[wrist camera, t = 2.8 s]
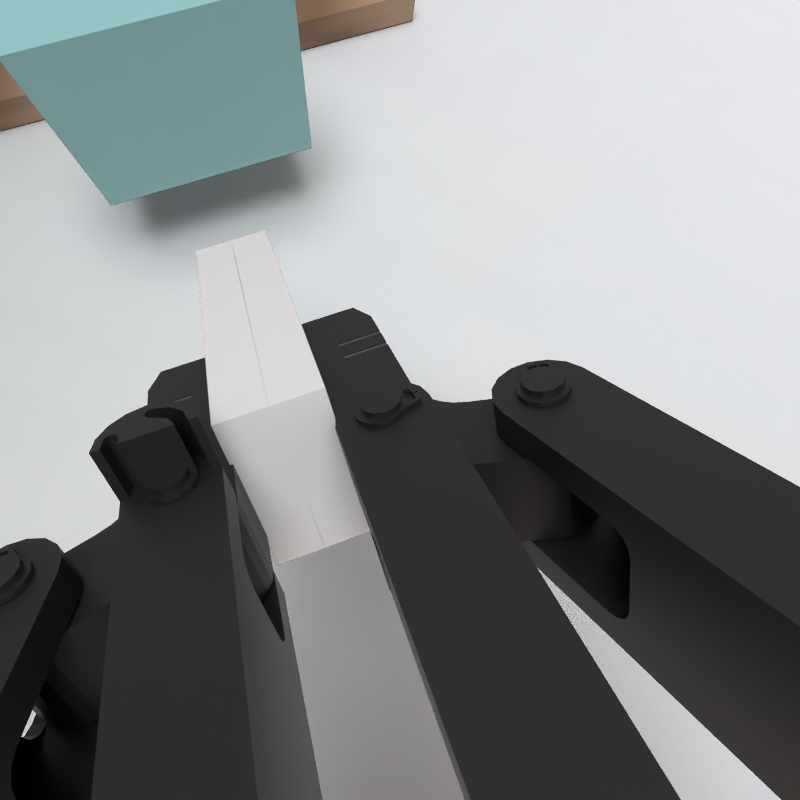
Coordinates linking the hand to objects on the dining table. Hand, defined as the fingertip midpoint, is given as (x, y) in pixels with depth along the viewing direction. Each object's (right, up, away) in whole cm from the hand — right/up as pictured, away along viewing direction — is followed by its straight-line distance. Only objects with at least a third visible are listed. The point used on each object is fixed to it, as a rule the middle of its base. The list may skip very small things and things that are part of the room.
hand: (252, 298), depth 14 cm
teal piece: (-5, +11, +9) cm, 15 cm away
